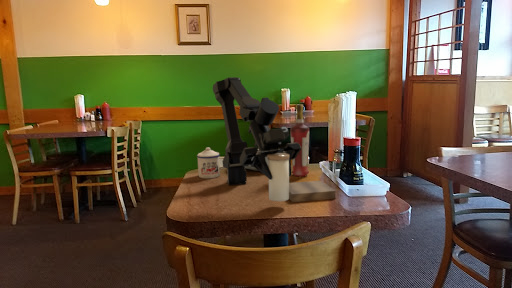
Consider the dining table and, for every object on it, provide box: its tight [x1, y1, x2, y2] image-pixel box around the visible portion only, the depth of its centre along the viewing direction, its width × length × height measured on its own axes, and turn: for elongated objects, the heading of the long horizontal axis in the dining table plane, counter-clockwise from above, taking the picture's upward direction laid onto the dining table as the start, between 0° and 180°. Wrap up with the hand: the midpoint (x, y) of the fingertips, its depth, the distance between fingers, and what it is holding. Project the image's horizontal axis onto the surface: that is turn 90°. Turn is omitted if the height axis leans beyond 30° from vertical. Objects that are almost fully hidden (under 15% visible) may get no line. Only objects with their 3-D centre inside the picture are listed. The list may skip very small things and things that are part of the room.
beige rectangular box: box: [288, 180, 336, 203], centre depth 121 cm, size 14×13×2 cm
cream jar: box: [267, 153, 290, 202], centre depth 108 cm, size 6×6×13 cm
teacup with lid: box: [196, 147, 226, 179], centre depth 150 cm, size 12×9×12 cm
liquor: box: [290, 104, 310, 178], centre depth 144 cm, size 7×7×28 cm
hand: (281, 177), depth 107 cm, fingers closed on cream jar, 6 cm apart
